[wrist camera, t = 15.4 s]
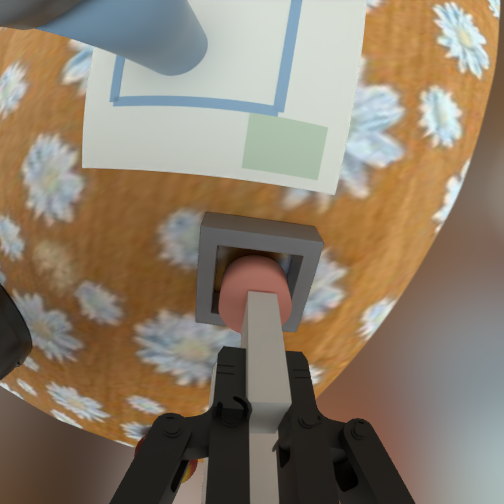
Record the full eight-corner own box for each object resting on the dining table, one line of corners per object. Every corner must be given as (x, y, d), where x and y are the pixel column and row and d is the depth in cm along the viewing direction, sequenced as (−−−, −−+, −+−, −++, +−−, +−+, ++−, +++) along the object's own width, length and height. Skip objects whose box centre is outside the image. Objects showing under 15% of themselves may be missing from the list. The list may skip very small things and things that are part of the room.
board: (88, 165, 15) (81, 168, 14) (127, -39, 8) (122, -44, 7) (331, 191, 16) (335, 195, 16) (363, -21, 9) (368, -26, 8)
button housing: (200, 301, 20) (195, 322, 18) (206, 211, 17) (200, 226, 15) (291, 310, 21) (296, 332, 18) (314, 226, 17) (324, 242, 15)
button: (219, 305, 18) (216, 331, 15) (225, 251, 16) (221, 274, 14) (279, 311, 18) (283, 337, 16) (292, 259, 16) (299, 282, 14)
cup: (246, 334, 22) (249, 535, 7) (315, 367, 24) (345, 524, 10) (196, 378, 25) (179, 531, 10) (261, 404, 27) (267, 536, 13)
